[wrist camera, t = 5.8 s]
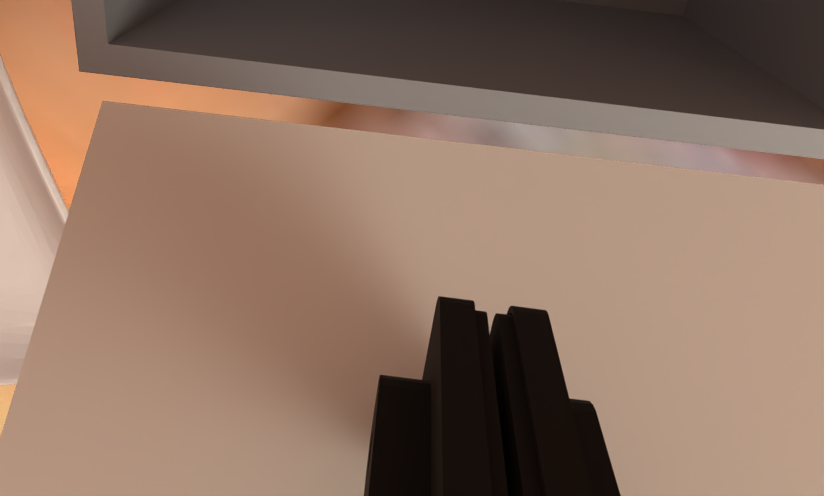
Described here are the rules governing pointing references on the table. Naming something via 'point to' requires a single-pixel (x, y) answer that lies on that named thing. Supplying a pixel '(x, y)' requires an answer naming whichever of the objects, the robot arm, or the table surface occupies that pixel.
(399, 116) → the table surface
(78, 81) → the table surface
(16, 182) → the salad plate
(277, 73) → the carton
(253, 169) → the flap
